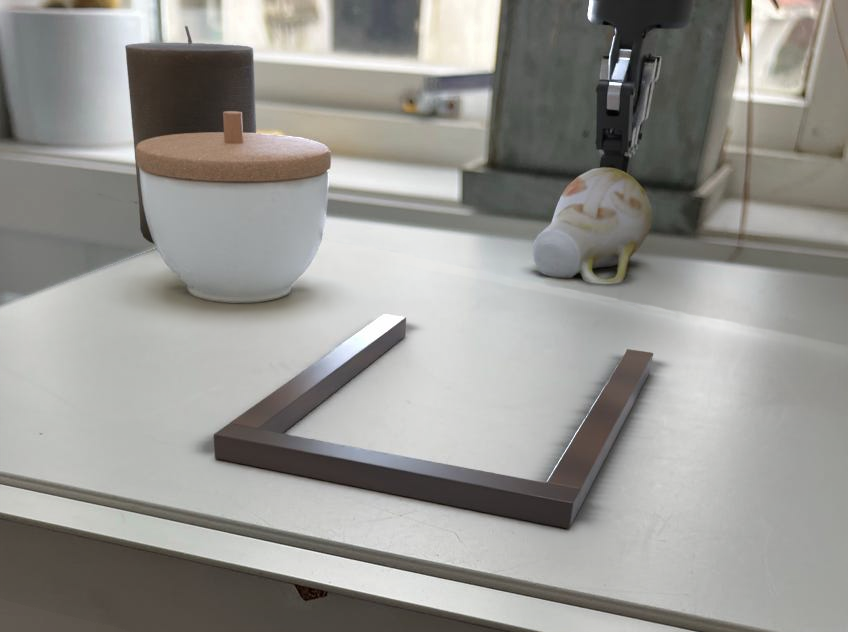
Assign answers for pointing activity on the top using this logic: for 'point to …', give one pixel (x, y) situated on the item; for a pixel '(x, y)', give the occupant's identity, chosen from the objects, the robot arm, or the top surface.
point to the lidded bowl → (235, 208)
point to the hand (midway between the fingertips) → (608, 206)
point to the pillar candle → (187, 91)
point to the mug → (594, 227)
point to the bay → (468, 488)
